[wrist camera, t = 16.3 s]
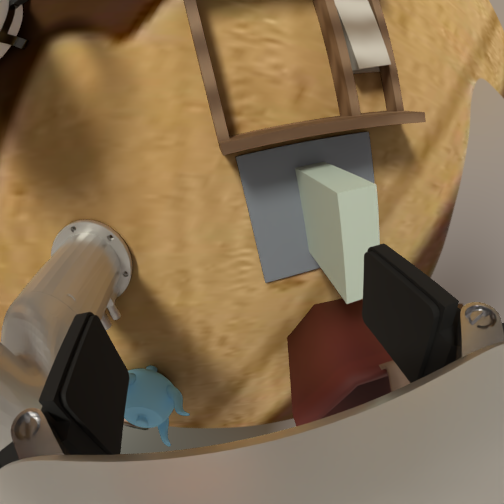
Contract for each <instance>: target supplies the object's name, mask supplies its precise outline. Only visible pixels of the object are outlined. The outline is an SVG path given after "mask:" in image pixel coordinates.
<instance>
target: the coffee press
mask: <svg viewBox="0 0 504 504" xmlns="http://www.w3.org/2000/svg"><path fill="white" fill-rule="evenodd" d="M27 1H28V0H0V58H1V57H2V56H3V55H4V54H5V53H6V52H7V50H8V49H9V48H10V46H11V45H12V46H15V47H18V48H21V49H24V48H25V47H26V45H27V43H28V42H29V41H28V40H26V39H23V38H20V37H18V36H17V34H18V31H19V29H20V26H21V22H22V17H23V7H22V4H23V3H25V2H27Z"/></svg>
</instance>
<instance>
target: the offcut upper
mask: <svg viewBox="0 0 504 504" xmlns="http://www.w3.org/2000/svg"><path fill="white" fill-rule="evenodd" d="M334 2H335V5H336V9H337V12H338V15H339V19H340V22H341V26H342V30H343V33H344V37H345V41H346V45H347V49H348V53H349V58H350V62H351V66H352V71H353V70H359V69H365V68H372V67H379V66H385V65H391V62H390V59H389V56H388V53H387V49H386V47H385V44H384V41H383V38H382V35H381V32H380V30H379V27H378V24H377V22H376V19H375V17H374V14H373V12H372V9H371V7H370V4H369V2H368V0H334Z"/></svg>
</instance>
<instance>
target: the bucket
mask: <svg viewBox="0 0 504 504" xmlns="http://www.w3.org/2000/svg"><path fill="white" fill-rule="evenodd" d="M362 304H363V300H362V299H361V300H358V301H355V302H352V303H349V304H346V302H345V301H344V299H338V300H334V301H329V302H325V303H320V304H315V305H314V306H313V307H312V308H311V309H310V311H309V312H308V313H307V314H306V316H305V317H304V318H303V319H302V321H301V322H300V323H299V324H298V325H297V327H296V328H295V329H294V330H293V332H292V333H291V334H290V335H289V336H288V338H287V341H288V353H289V367H290V381H291V396H292V412H293V417H294V420H295V423H296V426H300V425H303V424H307V423H310V422H313V421H316V420H319V419H322V418H325V417H328V416H331V415H334V414H337V413H340V412H343V411H346V410H348V409H351V408H354V407H356V406H359V405H362V404H364V403H367V402H369V401H372V400H374V399H376V398H379V397H381V396H384V395H386V394H388V393H390V392H393V391H395V390H397V389H399V388H402V387H404V386H406V385H408V384H410V382H409V380H408V379H407V378H406V376H405V375H404V374H403V372H402V371H401V370H400V368H399V367H398V366H397V364H396V363H395V362H394V361H393V359H392V358H391V357H390V355H389V354H388V353H387V351H386V350H385V349H384V347H383V346H382V345H381V344H380V342H379V341H378V340H377V338H376V337H375V336H374V335H373V333H372V332H371V331H370V329H369V328H368V327H367V326H366V324H365V323H364V321H363V318H362Z"/></svg>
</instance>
